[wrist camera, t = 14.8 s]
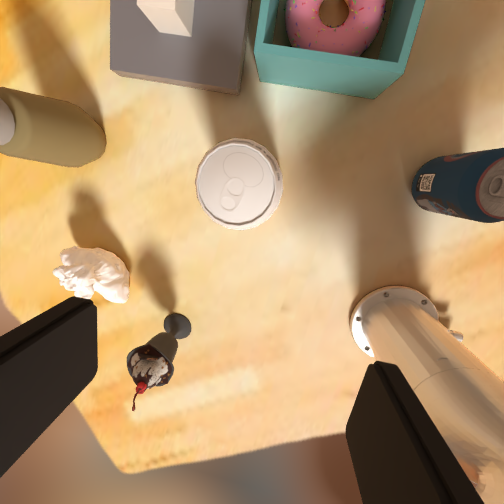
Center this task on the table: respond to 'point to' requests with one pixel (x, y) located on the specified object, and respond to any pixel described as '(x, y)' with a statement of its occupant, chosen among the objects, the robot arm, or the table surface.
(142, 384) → the sundae
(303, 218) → the table surface
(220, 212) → the supplement can
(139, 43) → the lid
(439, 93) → the table surface
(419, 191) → the soda can
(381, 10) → the doughnut
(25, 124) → the squeeze bottle
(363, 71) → the pastry box
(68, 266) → the white tied bag
